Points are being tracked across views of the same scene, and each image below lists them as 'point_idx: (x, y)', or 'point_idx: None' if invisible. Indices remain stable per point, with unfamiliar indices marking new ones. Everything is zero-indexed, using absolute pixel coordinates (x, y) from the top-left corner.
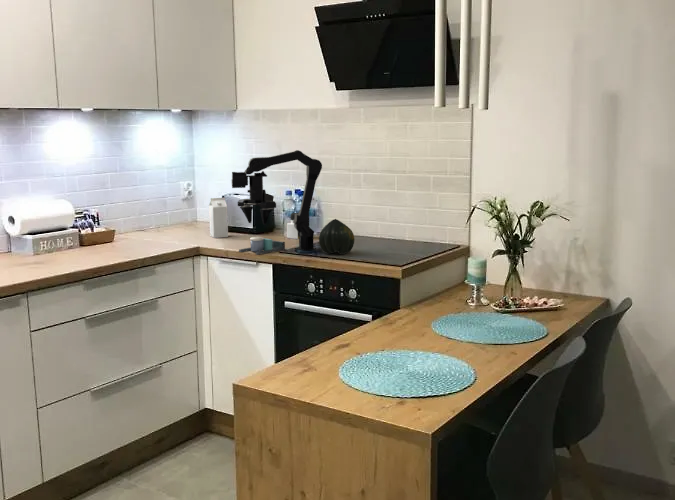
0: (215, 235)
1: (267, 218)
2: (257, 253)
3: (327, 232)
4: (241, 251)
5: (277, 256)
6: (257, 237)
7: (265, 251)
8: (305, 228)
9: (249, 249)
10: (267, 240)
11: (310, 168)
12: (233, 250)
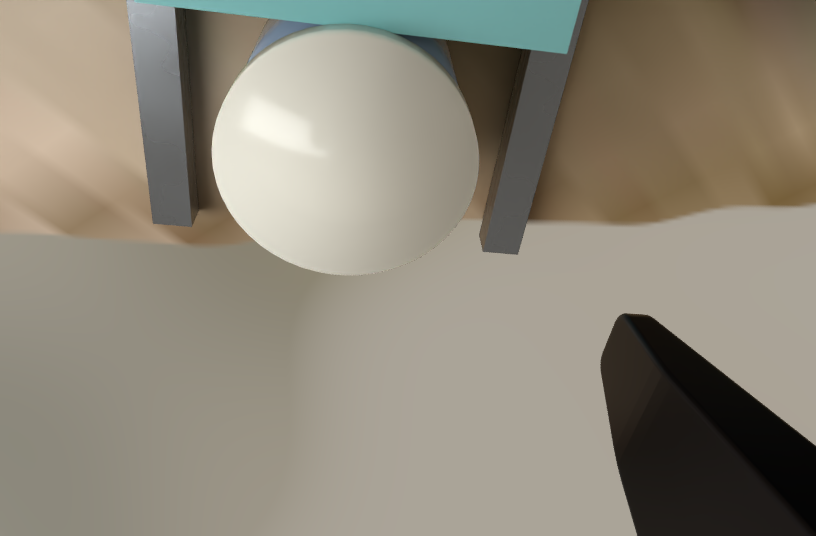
0: None
1: (806, 452)
2: (515, 245)
3: None
4: (196, 202)
5: (796, 193)
6: (321, 131)
7: (552, 127)
8: None
9: (183, 67)
10: (525, 43)
11: None
12: (10, 171)
